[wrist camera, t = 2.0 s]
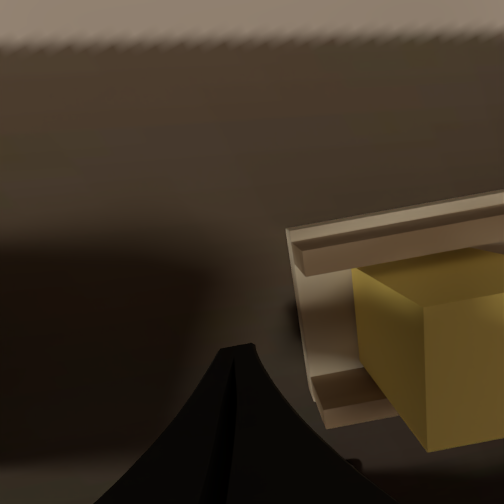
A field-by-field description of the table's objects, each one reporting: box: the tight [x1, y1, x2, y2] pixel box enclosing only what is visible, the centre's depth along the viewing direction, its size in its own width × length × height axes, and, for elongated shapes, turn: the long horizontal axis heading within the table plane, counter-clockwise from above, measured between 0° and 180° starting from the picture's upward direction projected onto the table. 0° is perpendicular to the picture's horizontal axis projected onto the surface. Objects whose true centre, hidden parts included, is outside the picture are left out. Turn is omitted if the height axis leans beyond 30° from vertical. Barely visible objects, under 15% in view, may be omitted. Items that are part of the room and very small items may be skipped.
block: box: [351, 247, 504, 452], centre depth 9 cm, size 5×5×4 cm
